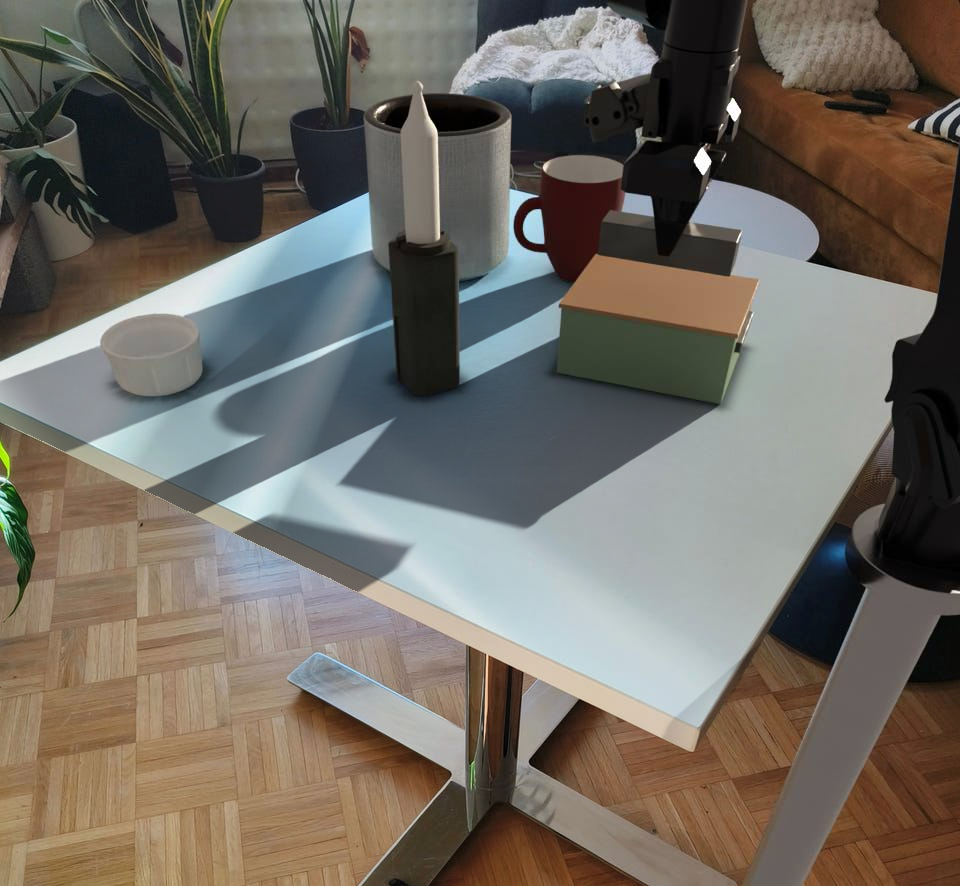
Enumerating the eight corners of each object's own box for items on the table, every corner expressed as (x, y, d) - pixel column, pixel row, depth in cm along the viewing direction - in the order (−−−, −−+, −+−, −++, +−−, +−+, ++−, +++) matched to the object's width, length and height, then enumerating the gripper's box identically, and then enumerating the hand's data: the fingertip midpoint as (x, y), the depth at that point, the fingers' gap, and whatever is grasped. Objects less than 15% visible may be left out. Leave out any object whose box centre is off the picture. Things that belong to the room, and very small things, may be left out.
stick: (597, 255, 81) (601, 221, 79) (606, 243, 83) (609, 209, 81) (729, 277, 79) (737, 242, 76) (735, 264, 80) (742, 229, 78)
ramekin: (222, 384, 85) (213, 340, 82) (131, 410, 81) (117, 366, 78) (188, 347, 90) (178, 305, 87) (100, 370, 87) (87, 328, 84)
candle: (464, 385, 85) (462, 84, 68) (416, 399, 83) (402, 93, 66) (439, 362, 88) (431, 69, 71) (392, 375, 86) (372, 77, 69)
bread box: (747, 347, 91) (762, 279, 86) (725, 406, 83) (741, 335, 78) (589, 320, 95) (595, 253, 90) (553, 373, 87) (558, 303, 82)
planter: (344, 264, 105) (330, 115, 94) (430, 223, 114) (426, 83, 103) (452, 300, 98) (450, 145, 87) (534, 254, 107) (541, 108, 96)
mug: (525, 297, 99) (529, 188, 91) (503, 264, 105) (506, 159, 97) (627, 287, 101) (640, 179, 93) (600, 255, 107) (610, 152, 99)
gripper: (629, 9, 77) (607, 199, 88) (566, 61, 65) (550, 274, 76) (759, 22, 75) (720, 216, 86) (719, 79, 62) (680, 297, 73)
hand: (667, 248), depth 80 cm, fingers closed on stick, 3 cm apart
